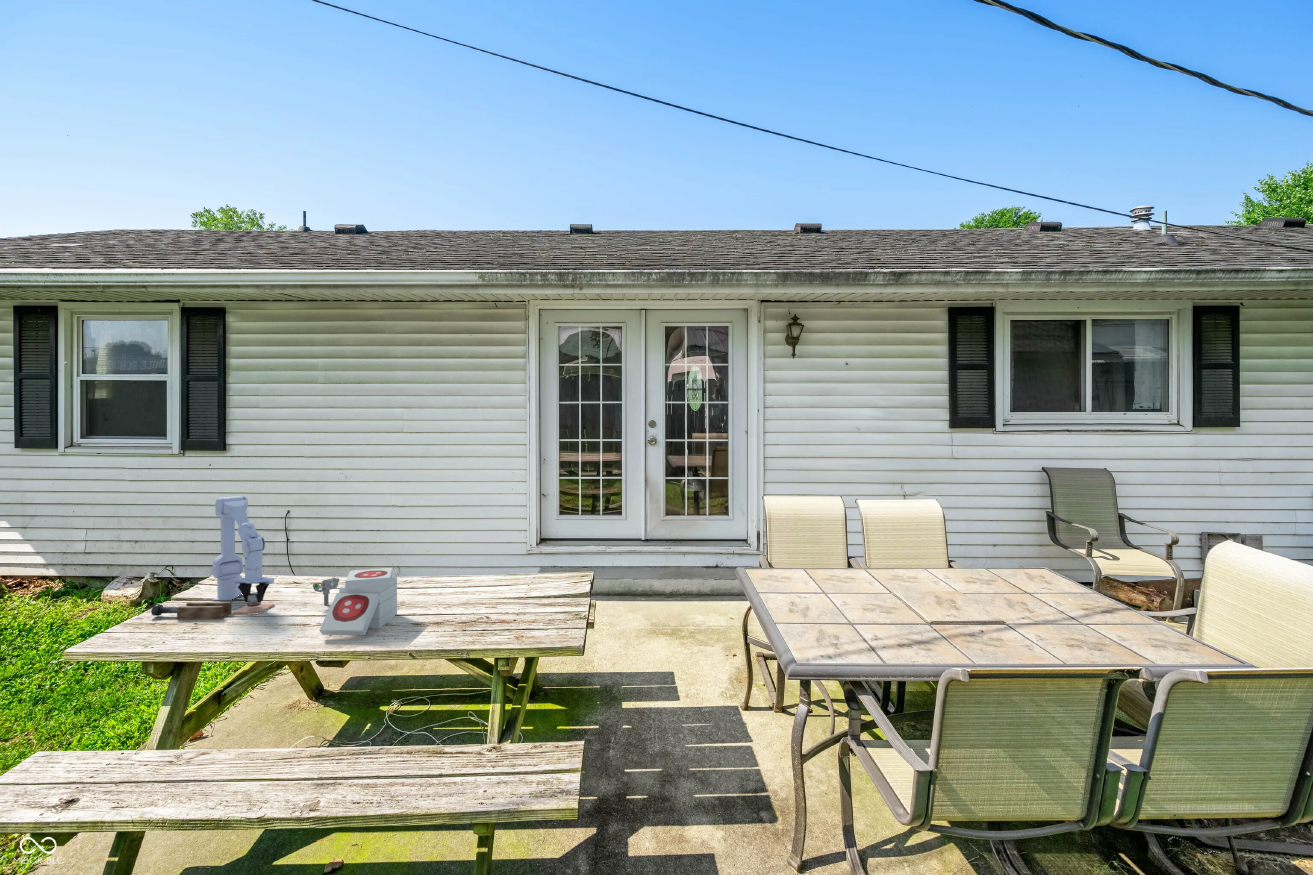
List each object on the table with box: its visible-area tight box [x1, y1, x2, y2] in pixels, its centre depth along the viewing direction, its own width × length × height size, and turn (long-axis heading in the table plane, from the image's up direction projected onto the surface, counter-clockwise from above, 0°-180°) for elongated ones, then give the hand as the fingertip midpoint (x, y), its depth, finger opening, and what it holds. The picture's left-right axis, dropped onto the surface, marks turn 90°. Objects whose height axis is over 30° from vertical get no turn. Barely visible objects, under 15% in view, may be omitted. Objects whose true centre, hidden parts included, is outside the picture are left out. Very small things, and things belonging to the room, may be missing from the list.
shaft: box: [150, 604, 178, 617], centre depth 224 cm, size 20×4×4 cm, turn 94°
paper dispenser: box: [318, 567, 398, 636], centre depth 217 cm, size 19×30×18 cm, turn 1°
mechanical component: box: [312, 577, 340, 606], centre depth 240 cm, size 3×10×10 cm, turn 152°
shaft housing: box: [176, 601, 233, 620], centre depth 224 cm, size 16×6×4 cm, turn 94°
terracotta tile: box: [232, 603, 275, 615], centre depth 232 cm, size 10×10×1 cm
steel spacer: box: [246, 591, 262, 607], centre depth 232 cm, size 4×4×4 cm
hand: (253, 601), depth 232 cm, fingers closed on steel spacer, 4 cm apart
